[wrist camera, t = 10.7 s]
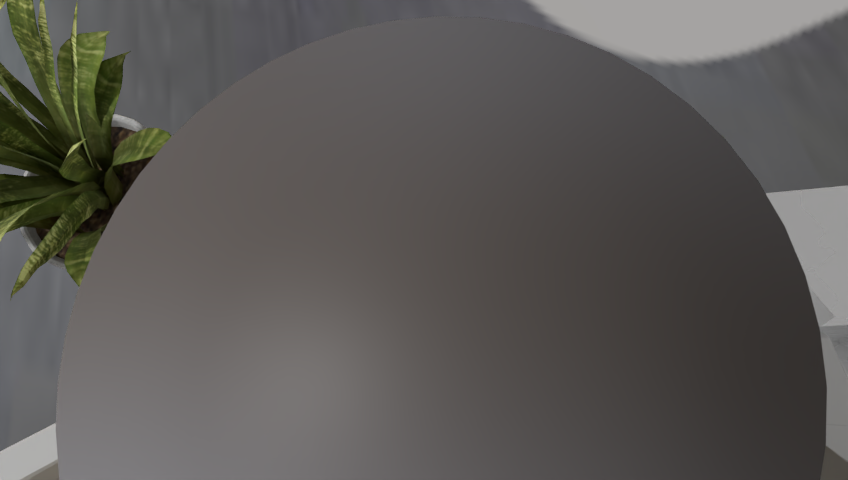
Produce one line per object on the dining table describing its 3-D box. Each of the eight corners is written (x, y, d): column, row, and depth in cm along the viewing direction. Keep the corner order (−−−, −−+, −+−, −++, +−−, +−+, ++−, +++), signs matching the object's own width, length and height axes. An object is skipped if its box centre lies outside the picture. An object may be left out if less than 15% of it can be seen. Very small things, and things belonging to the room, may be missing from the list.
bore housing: (1112, 650, 26) (1229, 692, 21) (632, 646, 29) (642, 682, 24) (994, 210, 31) (1069, 164, 26) (591, 245, 33) (593, 209, 29)
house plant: (96, 65, 42) (-186, -166, 26) (325, 97, 38) (153, -148, 23) (2, 314, 38) (-383, 215, 23) (243, 374, 35) (-22, 304, 20)
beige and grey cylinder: (672, 558, 15) (919, 840, 4) (418, 562, 16) (16, 795, 5) (640, 304, 17) (749, -35, 5) (410, 321, 18) (90, 67, 6)
